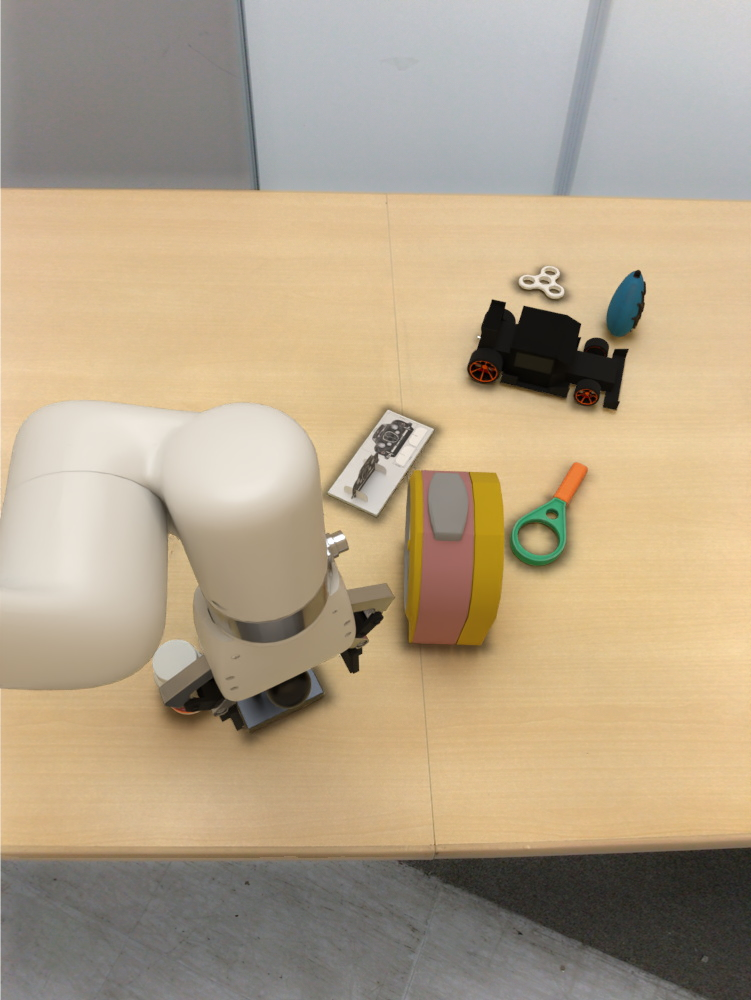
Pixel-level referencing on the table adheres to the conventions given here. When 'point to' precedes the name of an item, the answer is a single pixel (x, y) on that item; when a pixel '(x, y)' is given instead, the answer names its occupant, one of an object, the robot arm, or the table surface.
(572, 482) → the magnifying glass
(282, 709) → the switch bracket
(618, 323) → the ornament
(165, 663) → the pill bottle
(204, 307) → the table surface
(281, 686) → the switch lever
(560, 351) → the toy race car
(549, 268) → the fidget spinner
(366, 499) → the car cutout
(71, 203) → the table surface
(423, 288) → the table surface
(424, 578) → the alarm clock
